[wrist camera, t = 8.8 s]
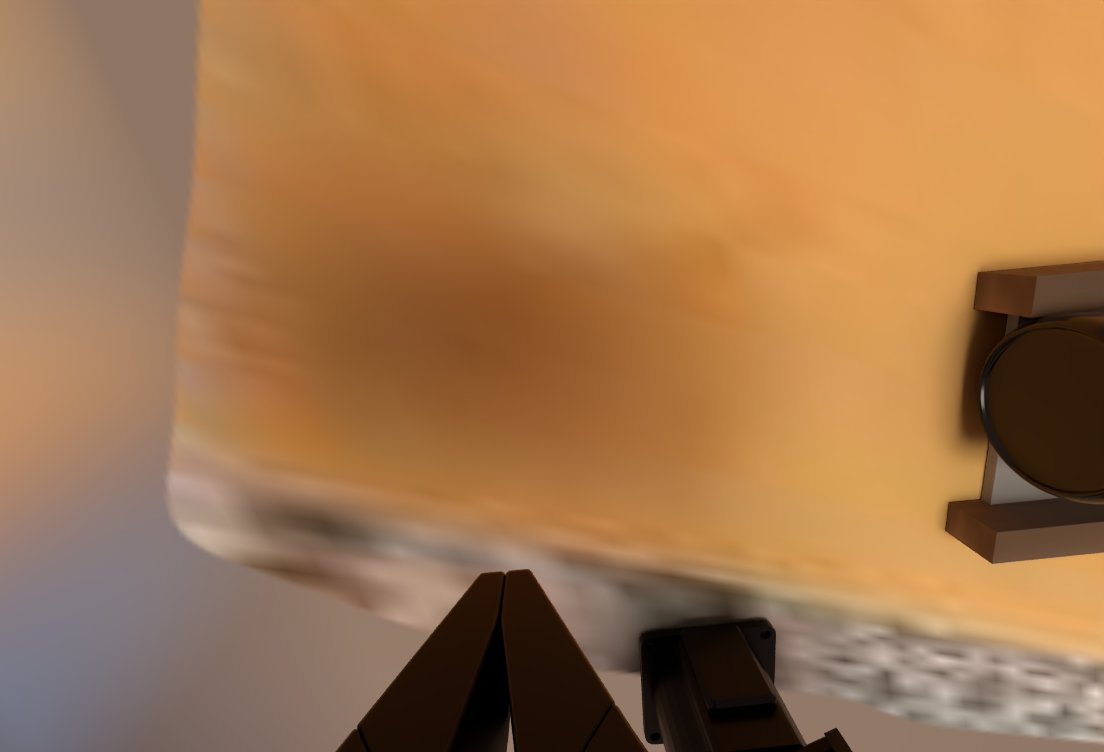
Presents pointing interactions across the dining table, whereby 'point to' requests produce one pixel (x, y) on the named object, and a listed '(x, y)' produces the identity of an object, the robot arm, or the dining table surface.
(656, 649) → the robot arm
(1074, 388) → the supplement bottle
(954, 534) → the cradle
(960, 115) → the dining table surface
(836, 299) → the dining table surface
